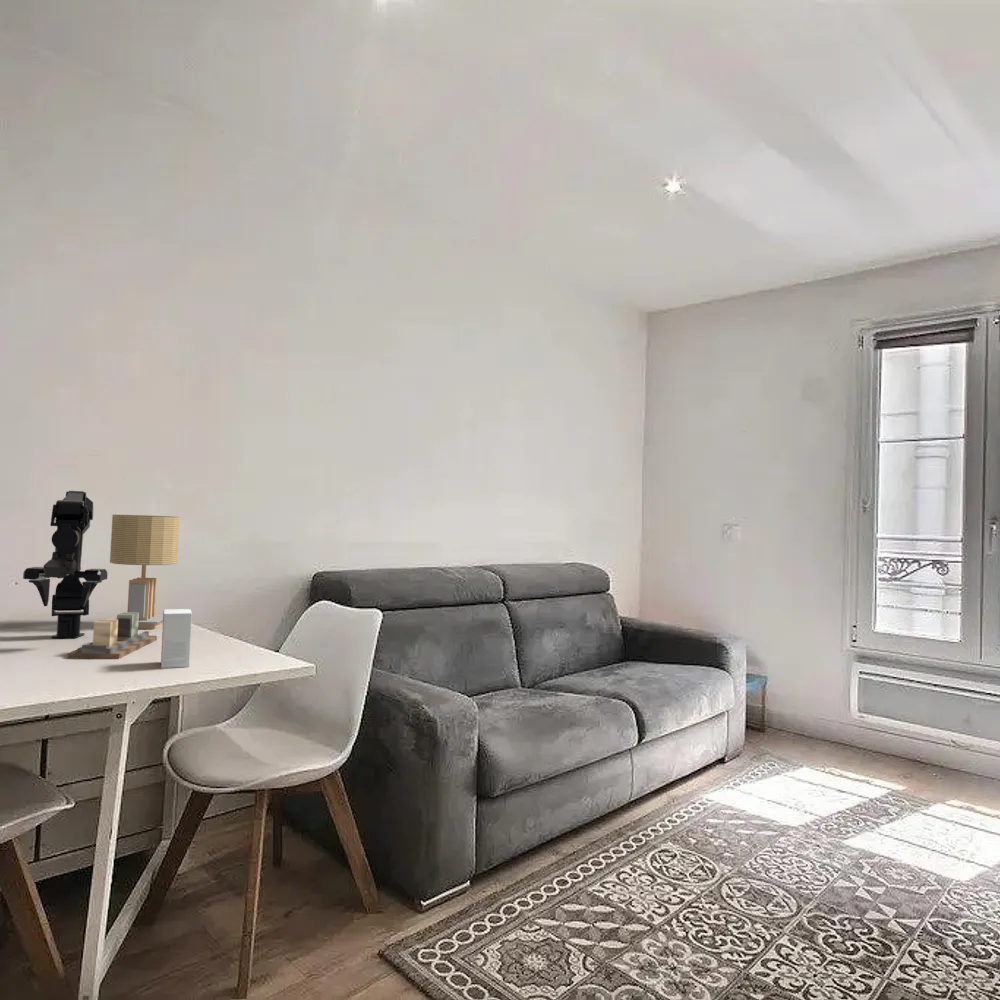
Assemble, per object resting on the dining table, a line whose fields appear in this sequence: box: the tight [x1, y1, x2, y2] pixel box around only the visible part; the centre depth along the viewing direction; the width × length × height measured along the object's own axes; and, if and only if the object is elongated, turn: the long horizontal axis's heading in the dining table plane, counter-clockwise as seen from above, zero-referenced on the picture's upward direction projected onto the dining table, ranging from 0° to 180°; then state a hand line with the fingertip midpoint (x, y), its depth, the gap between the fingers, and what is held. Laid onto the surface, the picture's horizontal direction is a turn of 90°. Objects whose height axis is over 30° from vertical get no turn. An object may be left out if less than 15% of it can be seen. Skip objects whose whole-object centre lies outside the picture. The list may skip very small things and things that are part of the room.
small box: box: [160, 608, 193, 669], centre depth 177 cm, size 8×6×13 cm
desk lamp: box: [109, 514, 180, 630], centre depth 233 cm, size 20×20×35 cm
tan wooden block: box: [92, 619, 118, 648], centre depth 187 cm, size 5×4×7 cm
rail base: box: [66, 611, 158, 660], centre depth 194 cm, size 28×12×8 cm, turn 8°
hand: (64, 606), depth 192 cm, fingers open, 9 cm apart
